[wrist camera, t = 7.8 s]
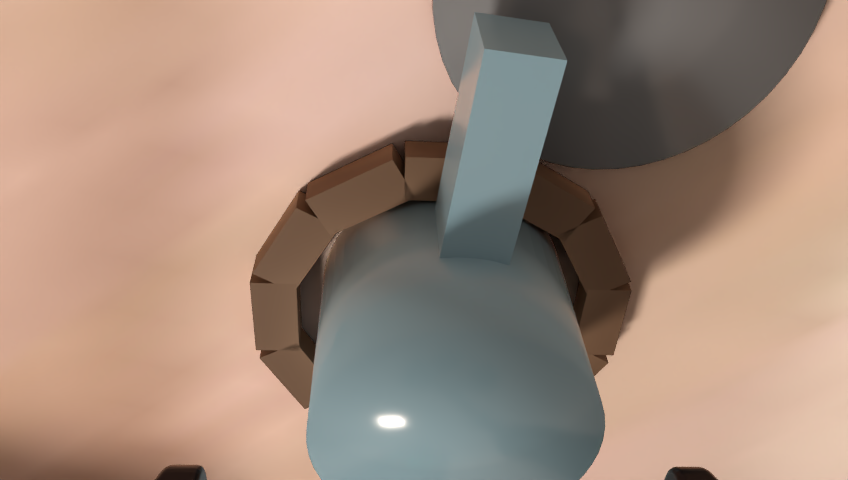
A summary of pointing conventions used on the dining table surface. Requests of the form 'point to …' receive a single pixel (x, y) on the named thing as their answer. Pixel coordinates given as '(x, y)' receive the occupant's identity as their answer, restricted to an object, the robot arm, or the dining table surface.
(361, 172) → the holder ring
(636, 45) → the coaster
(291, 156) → the dining table surface
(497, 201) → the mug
